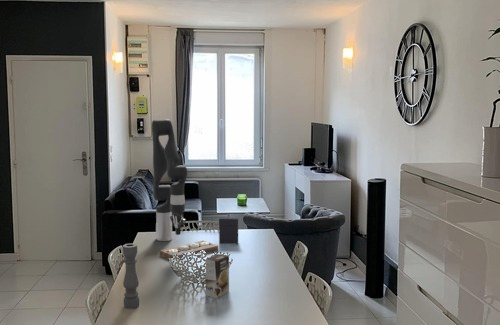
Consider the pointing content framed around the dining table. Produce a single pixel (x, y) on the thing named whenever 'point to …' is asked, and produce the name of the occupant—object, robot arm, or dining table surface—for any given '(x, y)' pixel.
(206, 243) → the button one dot
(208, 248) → the brown flat block
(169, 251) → the button two dots
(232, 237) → the dark brown box
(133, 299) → the candle holder
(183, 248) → the button blank
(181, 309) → the dining table surface
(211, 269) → the coffee box
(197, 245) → the button three dots
